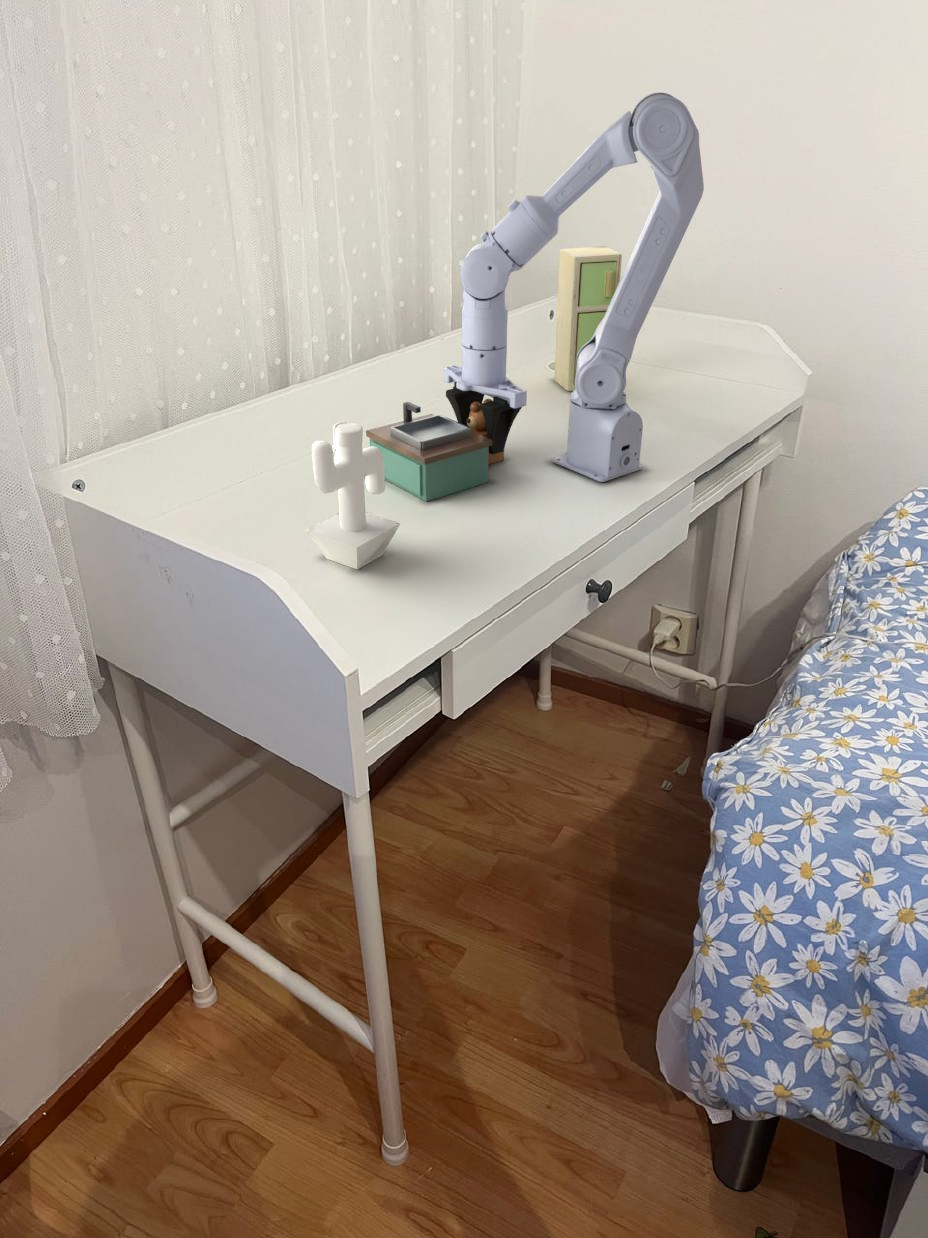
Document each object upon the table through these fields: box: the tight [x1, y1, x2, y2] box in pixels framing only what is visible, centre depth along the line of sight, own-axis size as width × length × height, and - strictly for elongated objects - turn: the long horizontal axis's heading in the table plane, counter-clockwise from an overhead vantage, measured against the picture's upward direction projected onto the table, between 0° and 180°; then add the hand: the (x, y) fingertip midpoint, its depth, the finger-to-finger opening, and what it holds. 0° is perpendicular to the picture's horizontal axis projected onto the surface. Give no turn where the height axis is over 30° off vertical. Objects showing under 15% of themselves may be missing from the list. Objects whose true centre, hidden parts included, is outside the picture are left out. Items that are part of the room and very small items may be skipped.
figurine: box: [305, 420, 401, 570], centre depth 103 cm, size 7×9×15 cm
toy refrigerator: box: [553, 246, 623, 392], centre depth 155 cm, size 8×7×21 cm
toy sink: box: [365, 401, 492, 502], centre depth 124 cm, size 13×11×9 cm
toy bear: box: [466, 398, 505, 465], centre depth 129 cm, size 4×5×8 cm
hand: (482, 446), depth 131 cm, fingers open, 5 cm apart
